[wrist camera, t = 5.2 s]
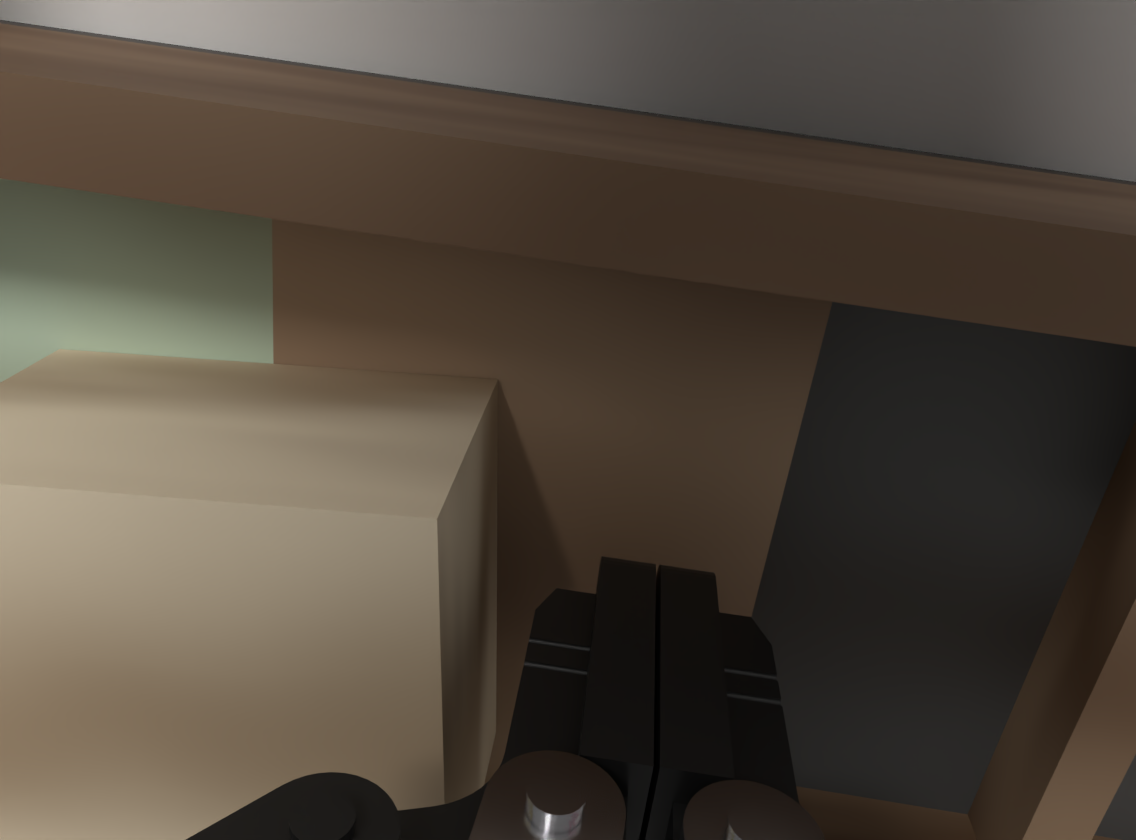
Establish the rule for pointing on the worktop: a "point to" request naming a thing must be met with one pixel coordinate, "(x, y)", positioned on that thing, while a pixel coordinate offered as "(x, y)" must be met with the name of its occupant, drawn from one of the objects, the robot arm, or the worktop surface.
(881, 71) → the worktop surface
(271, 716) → the block
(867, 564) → the divided wooden tray
